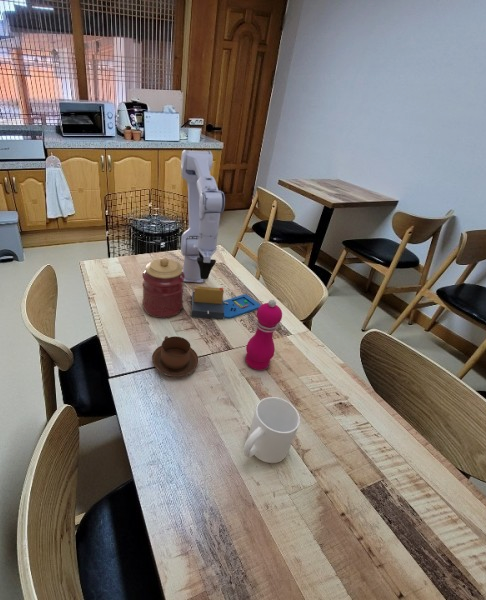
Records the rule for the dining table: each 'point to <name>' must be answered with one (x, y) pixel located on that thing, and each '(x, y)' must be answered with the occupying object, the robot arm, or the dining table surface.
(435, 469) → the dining table surface
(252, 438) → the mug
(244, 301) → the handheld gaming device
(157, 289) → the kitchen canister
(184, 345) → the cup and saucer
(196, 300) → the tan rectangular block
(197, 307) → the frame stand
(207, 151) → the robot arm
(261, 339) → the pepper mill
